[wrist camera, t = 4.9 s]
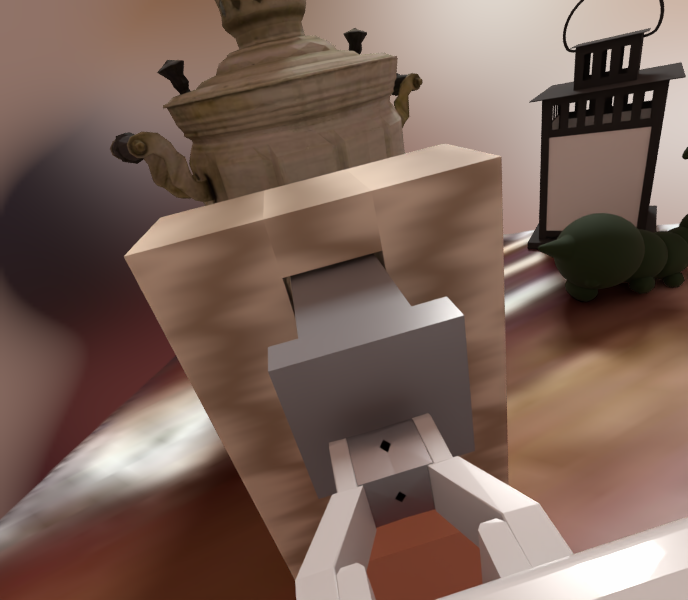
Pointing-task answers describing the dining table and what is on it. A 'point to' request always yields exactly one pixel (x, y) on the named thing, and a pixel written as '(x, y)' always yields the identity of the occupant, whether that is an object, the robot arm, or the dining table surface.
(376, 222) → the block
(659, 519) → the dining table surface
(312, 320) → the charcoal plug
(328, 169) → the samovar
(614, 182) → the lantern
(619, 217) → the toy figurine
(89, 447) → the dining table surface
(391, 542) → the terracotta plug
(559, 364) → the dining table surface
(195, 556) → the dining table surface
